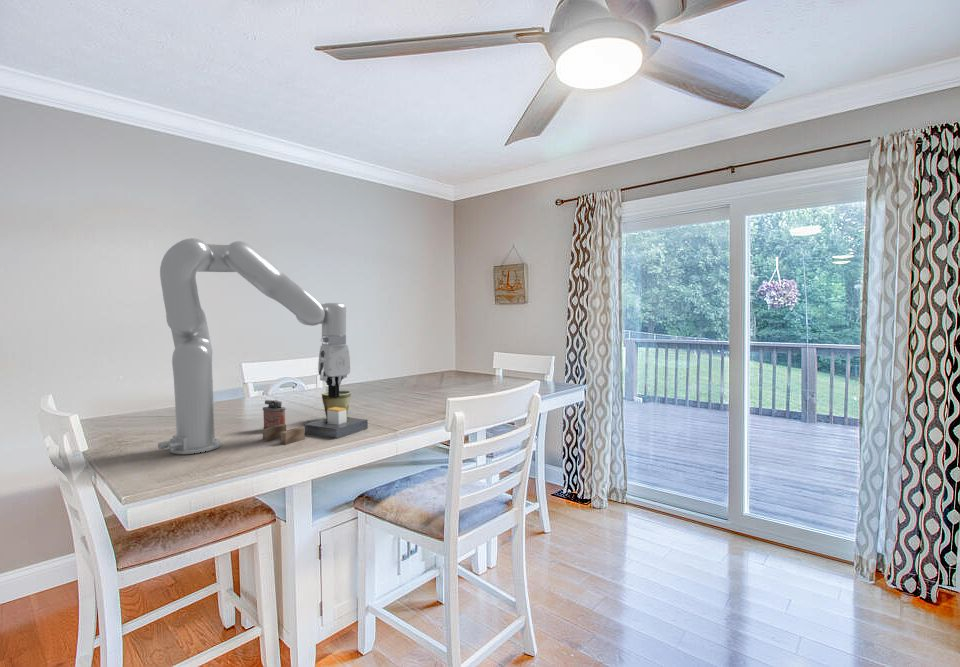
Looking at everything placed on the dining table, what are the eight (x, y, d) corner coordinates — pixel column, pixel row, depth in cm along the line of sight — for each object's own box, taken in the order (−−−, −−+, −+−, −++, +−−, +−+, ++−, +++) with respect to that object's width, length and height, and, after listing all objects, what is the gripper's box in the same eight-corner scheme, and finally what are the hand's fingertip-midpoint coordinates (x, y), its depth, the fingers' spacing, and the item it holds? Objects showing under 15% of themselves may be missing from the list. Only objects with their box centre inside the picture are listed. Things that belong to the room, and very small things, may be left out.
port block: (336, 438, 148) (336, 429, 148) (304, 433, 155) (304, 424, 155) (367, 428, 160) (367, 419, 160) (336, 424, 167) (336, 415, 167)
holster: (285, 444, 142) (285, 432, 142) (262, 440, 147) (262, 429, 147) (304, 438, 148) (304, 427, 148) (282, 435, 153) (281, 424, 153)
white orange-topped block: (338, 431, 155) (338, 410, 155) (327, 430, 157) (327, 408, 157) (346, 429, 158) (346, 408, 158) (335, 427, 160) (335, 406, 160)
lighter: (288, 429, 161) (287, 399, 160) (281, 431, 157) (280, 401, 157) (268, 428, 163) (267, 398, 162) (261, 430, 160) (259, 400, 159)
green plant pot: (344, 423, 167) (343, 395, 167) (317, 423, 169) (316, 394, 169) (359, 415, 180) (358, 389, 180) (334, 415, 182) (333, 388, 181)
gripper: (324, 342, 148) (324, 401, 148) (358, 340, 161) (358, 395, 161) (307, 341, 151) (307, 399, 152) (342, 339, 164) (341, 393, 165)
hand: (333, 397), depth 157 cm, fingers closed
